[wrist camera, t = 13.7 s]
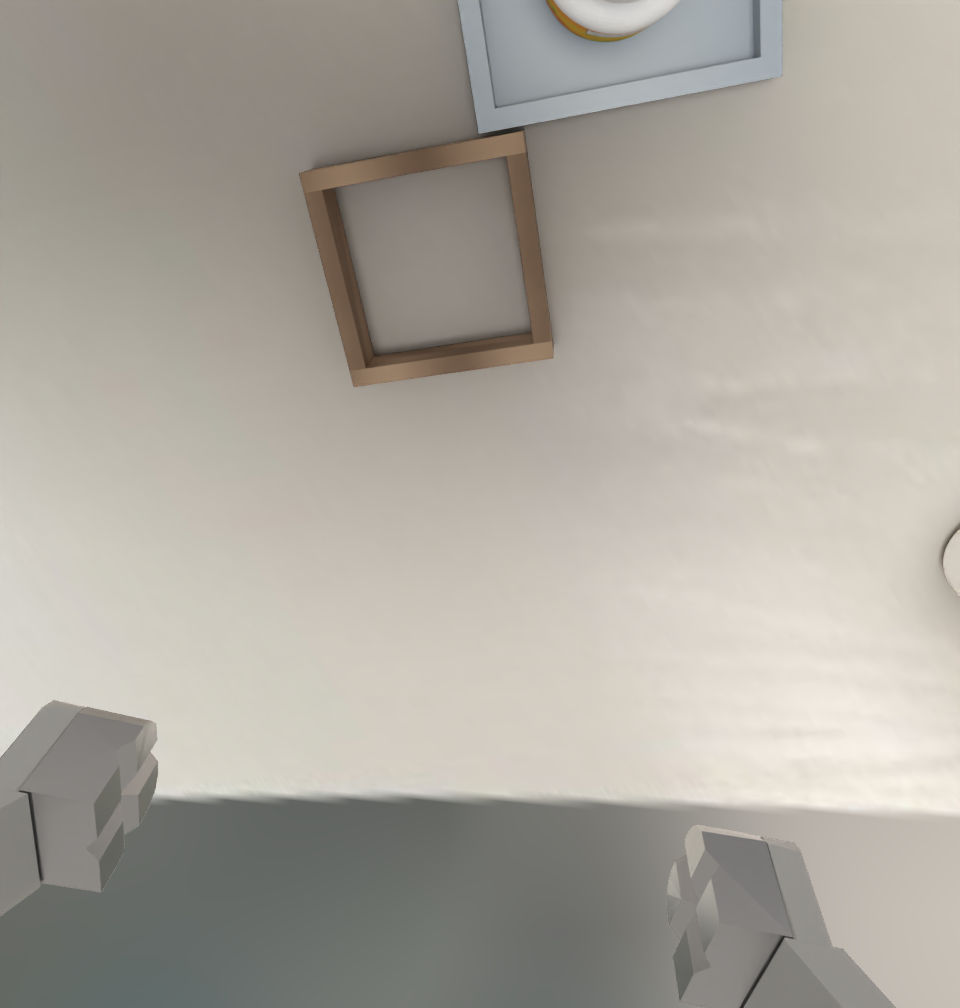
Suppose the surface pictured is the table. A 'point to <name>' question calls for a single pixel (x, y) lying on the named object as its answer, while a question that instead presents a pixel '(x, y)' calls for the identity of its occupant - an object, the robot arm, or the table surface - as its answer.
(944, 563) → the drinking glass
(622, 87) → the slate tray
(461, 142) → the walnut holder
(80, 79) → the table surface
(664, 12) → the supplement bottle
